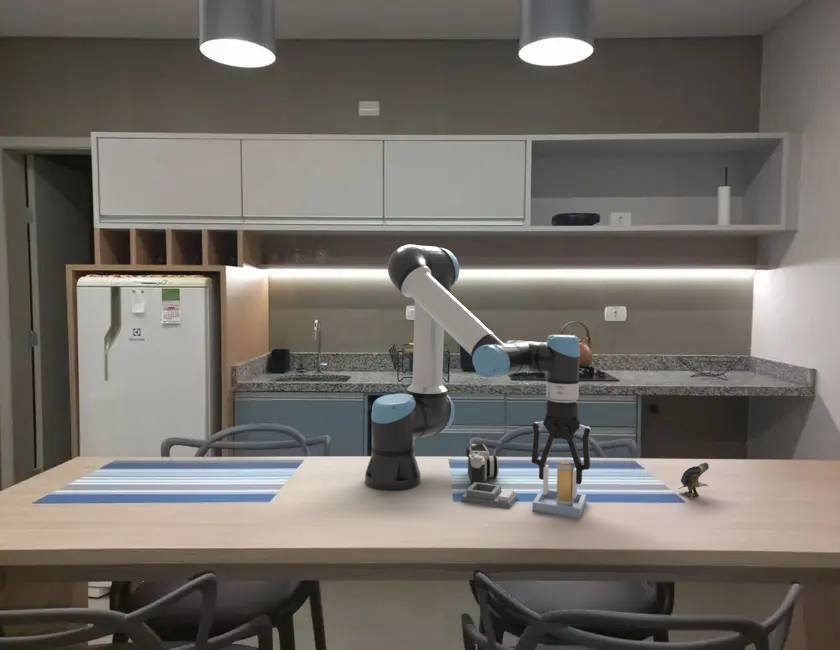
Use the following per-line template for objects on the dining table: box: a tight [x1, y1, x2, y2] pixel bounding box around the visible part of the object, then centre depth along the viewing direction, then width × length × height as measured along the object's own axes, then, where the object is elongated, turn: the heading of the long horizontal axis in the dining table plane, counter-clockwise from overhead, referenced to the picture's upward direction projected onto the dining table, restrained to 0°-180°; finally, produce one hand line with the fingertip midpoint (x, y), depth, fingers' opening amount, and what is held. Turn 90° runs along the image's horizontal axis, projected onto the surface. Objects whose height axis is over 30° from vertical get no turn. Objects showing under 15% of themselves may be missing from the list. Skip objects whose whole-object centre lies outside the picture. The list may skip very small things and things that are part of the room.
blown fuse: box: [556, 459, 575, 506], centre depth 141 cm, size 4×4×10 cm
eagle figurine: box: [677, 462, 710, 501], centre depth 150 cm, size 8×7×9 cm
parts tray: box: [532, 487, 587, 519], centre depth 141 cm, size 11×11×2 cm
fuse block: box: [461, 482, 518, 509], centre depth 146 cm, size 12×8×3 cm, turn 68°
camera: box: [466, 442, 500, 486], centre depth 163 cm, size 16×9×10 cm, turn 179°
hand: (559, 494), depth 141 cm, fingers open, 6 cm apart
